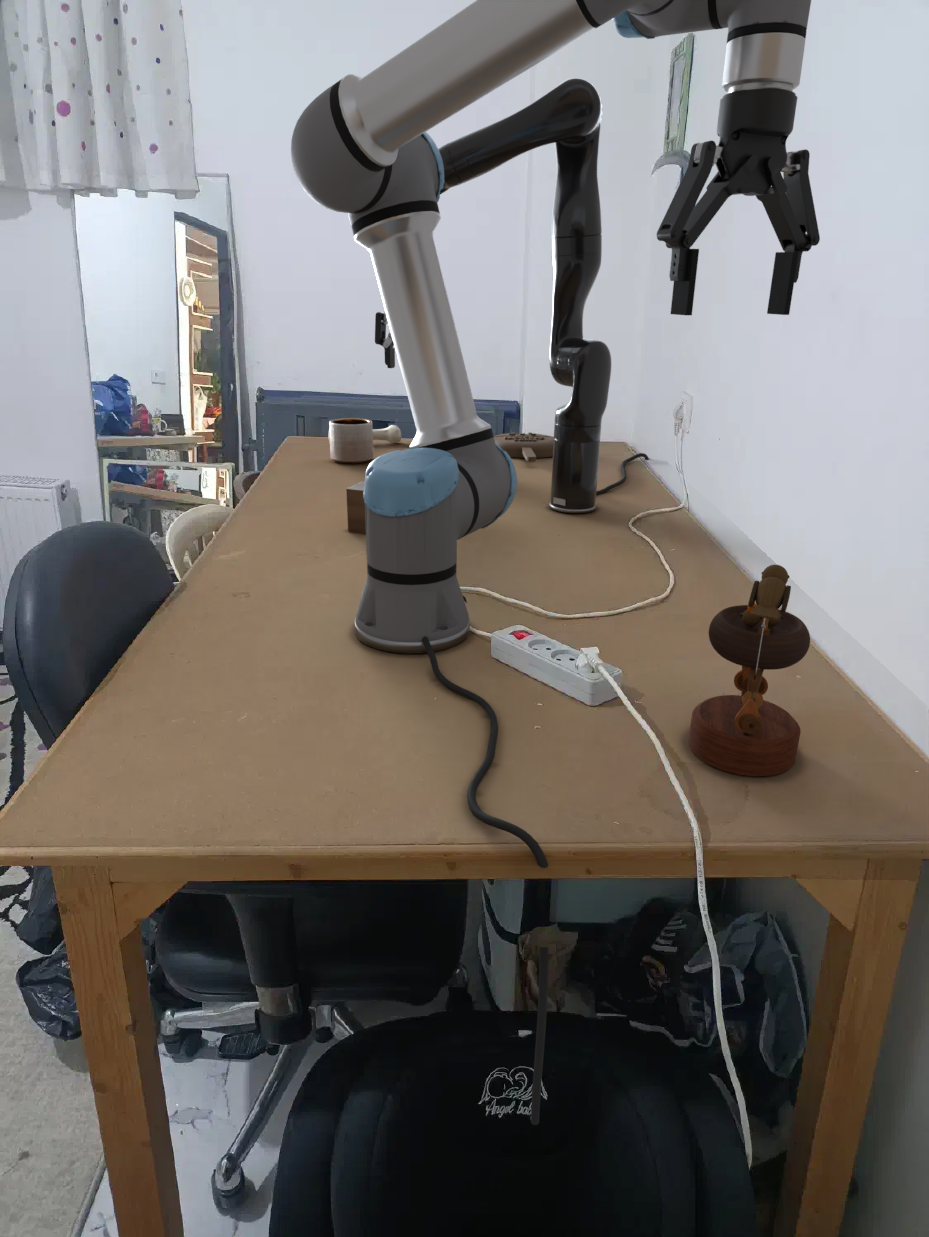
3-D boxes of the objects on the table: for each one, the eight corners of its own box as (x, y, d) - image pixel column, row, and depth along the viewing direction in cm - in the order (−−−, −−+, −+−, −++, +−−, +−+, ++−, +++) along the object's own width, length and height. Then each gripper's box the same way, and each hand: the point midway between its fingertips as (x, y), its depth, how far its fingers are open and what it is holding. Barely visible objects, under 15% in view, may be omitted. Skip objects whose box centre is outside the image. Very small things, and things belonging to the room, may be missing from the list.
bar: (371, 534, 154) (370, 491, 151) (347, 531, 156) (346, 488, 153) (428, 499, 179) (428, 461, 176) (407, 496, 180) (407, 459, 177)
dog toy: (400, 440, 239) (399, 422, 237) (402, 444, 234) (401, 426, 232) (328, 441, 236) (327, 423, 234) (328, 445, 231) (327, 427, 229)
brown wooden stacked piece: (818, 789, 79) (839, 589, 72) (698, 789, 81) (706, 593, 73) (780, 711, 93) (794, 537, 86) (678, 712, 95) (683, 541, 87)
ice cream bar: (489, 467, 208) (489, 450, 207) (482, 445, 234) (482, 430, 233) (574, 467, 209) (575, 450, 208) (557, 446, 235) (558, 430, 234)
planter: (327, 456, 217) (325, 418, 214) (369, 454, 220) (368, 417, 217) (334, 465, 208) (332, 425, 204) (377, 463, 211) (376, 424, 207)
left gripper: (822, 109, 94) (791, 312, 102) (635, 87, 84) (617, 313, 92) (878, 98, 87) (840, 315, 95) (682, 72, 78) (658, 316, 86)
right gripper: (452, 281, 161) (451, 369, 168) (384, 279, 166) (385, 365, 172) (437, 281, 155) (437, 372, 161) (367, 279, 159) (369, 369, 165)
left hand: (730, 315), depth 94 cm, fingers open, 13 cm apart
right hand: (410, 369), depth 167 cm, fingers open, 8 cm apart
